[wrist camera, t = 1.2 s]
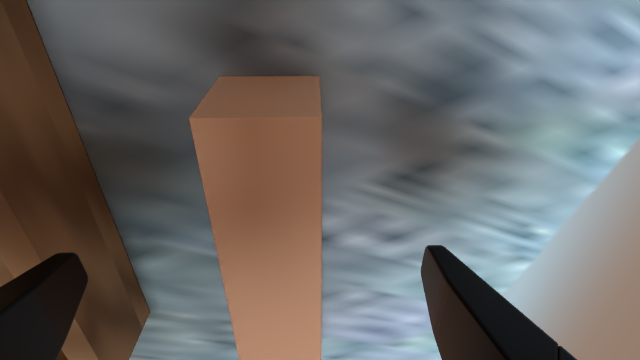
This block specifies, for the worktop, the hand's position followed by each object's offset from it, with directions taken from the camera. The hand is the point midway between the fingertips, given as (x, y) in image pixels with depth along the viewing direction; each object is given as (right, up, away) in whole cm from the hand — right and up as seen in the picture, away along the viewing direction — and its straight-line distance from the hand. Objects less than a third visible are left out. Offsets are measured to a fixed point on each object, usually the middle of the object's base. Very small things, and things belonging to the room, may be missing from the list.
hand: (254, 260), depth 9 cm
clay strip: (0, 0, +8) cm, 8 cm away
